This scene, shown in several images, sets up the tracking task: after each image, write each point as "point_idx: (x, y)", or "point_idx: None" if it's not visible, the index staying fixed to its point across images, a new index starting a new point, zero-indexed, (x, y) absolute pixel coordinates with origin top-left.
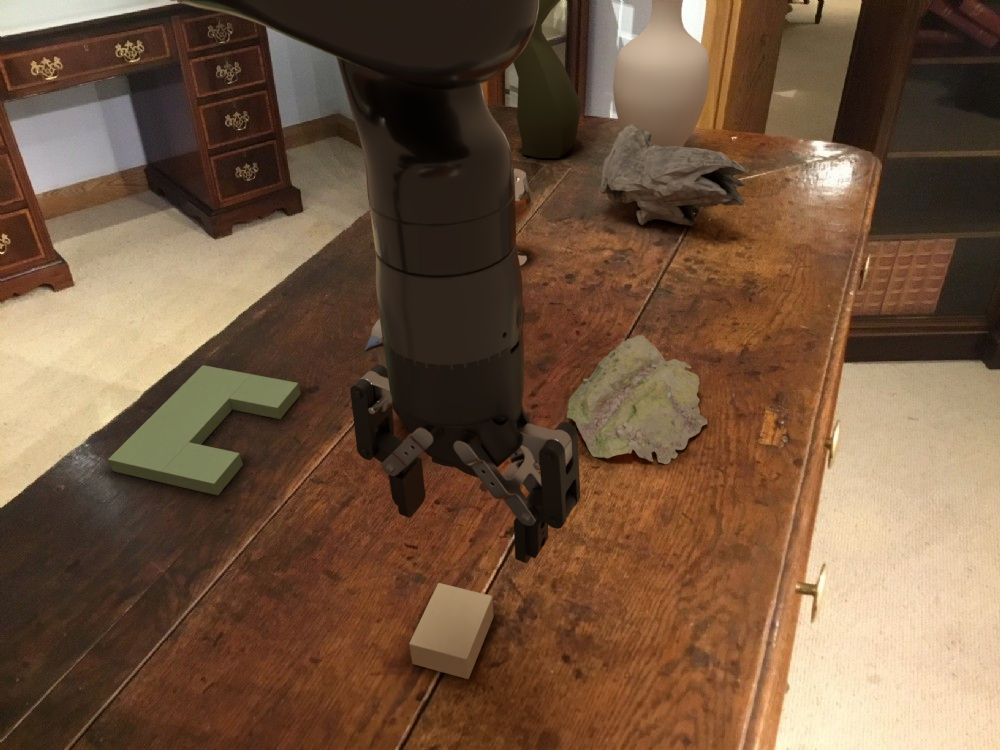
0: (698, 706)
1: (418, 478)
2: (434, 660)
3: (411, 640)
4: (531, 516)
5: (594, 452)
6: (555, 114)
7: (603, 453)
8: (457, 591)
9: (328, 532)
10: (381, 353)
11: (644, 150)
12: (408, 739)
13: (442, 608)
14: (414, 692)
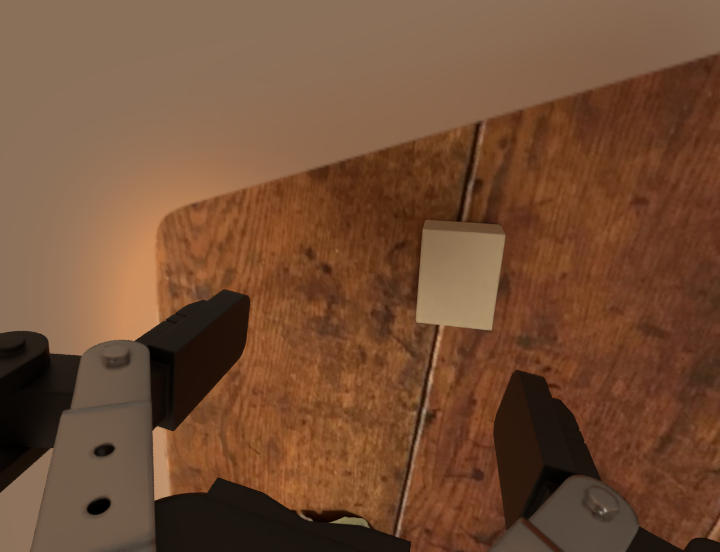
0: (192, 242)
1: (508, 473)
2: (468, 226)
3: (503, 239)
4: (86, 358)
5: (362, 523)
6: None
7: (351, 522)
8: (461, 321)
9: (679, 394)
10: None
11: None
12: (475, 125)
13: (474, 294)
14: (486, 188)
